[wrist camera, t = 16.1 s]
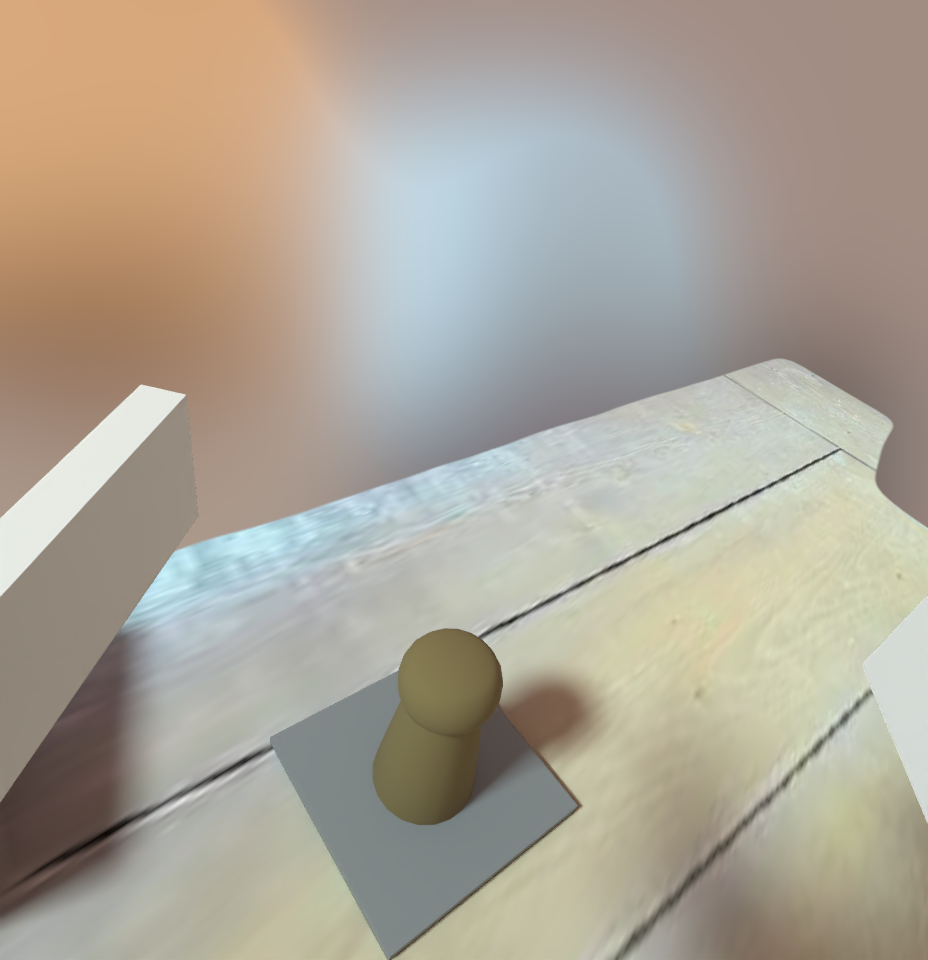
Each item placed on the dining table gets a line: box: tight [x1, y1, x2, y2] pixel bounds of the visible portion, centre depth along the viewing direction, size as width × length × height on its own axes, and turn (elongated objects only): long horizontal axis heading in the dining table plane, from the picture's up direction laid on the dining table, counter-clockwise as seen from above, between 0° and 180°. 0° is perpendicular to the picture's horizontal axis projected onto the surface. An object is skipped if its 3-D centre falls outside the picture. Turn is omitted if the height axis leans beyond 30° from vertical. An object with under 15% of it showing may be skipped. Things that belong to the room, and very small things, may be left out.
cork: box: [372, 629, 503, 825], centre depth 35 cm, size 6×6×11 cm
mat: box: [270, 671, 578, 960], centre depth 38 cm, size 13×13×1 cm
